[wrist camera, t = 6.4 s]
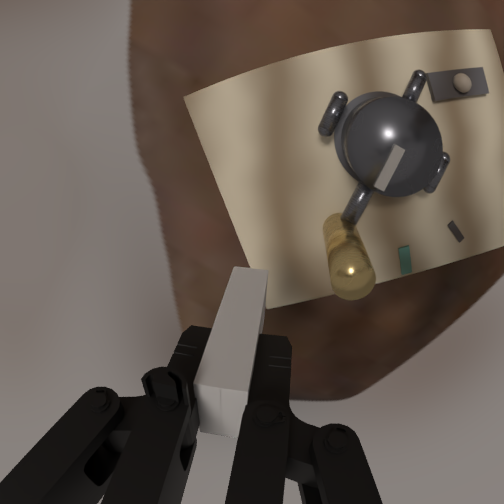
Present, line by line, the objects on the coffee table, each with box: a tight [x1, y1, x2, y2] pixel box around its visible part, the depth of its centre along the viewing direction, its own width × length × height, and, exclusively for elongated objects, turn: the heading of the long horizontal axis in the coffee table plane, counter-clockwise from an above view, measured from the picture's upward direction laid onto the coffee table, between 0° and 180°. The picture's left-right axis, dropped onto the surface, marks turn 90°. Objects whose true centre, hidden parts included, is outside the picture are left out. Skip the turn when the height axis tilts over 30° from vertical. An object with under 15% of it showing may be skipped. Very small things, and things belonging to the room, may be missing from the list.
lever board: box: [183, 29, 504, 309], centre depth 20 cm, size 24×18×4 cm
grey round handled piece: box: [318, 69, 450, 300], centre depth 16 cm, size 14×9×7 cm, turn 158°
